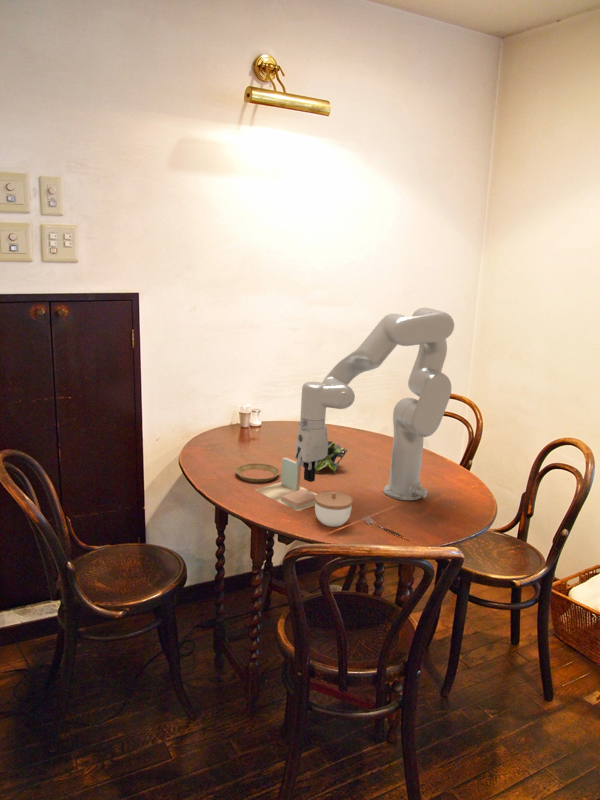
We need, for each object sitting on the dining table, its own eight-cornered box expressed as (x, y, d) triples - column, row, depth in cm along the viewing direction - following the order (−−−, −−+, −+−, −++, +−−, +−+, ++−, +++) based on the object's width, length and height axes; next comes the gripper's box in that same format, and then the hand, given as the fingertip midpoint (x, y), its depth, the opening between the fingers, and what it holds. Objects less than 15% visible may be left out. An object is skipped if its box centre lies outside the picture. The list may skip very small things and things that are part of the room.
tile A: (318, 496, 190) (297, 503, 184) (318, 501, 191) (296, 508, 185) (302, 489, 195) (281, 496, 189) (302, 494, 196) (281, 500, 189)
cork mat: (330, 501, 193) (330, 499, 192) (297, 513, 183) (297, 511, 183) (286, 481, 206) (286, 480, 206) (254, 491, 197) (254, 490, 197)
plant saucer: (226, 475, 210) (227, 468, 209) (262, 467, 219) (262, 460, 219) (252, 489, 199) (252, 482, 198) (288, 480, 208) (288, 473, 208)
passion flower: (323, 482, 224) (341, 449, 227) (341, 488, 213) (359, 454, 216) (297, 465, 219) (315, 432, 222) (314, 471, 208) (333, 436, 211)
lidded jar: (348, 516, 183) (350, 486, 181) (352, 532, 172) (355, 501, 170) (312, 514, 182) (314, 485, 180) (314, 531, 172) (316, 499, 170)
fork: (406, 543, 169) (406, 536, 168) (361, 522, 180) (362, 516, 179) (412, 540, 170) (412, 534, 170) (367, 520, 181) (368, 514, 181)
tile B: (299, 489, 199) (301, 463, 197) (295, 490, 198) (297, 464, 196) (284, 483, 204) (286, 457, 201) (281, 484, 203) (282, 458, 200)
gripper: (303, 430, 179) (300, 489, 183) (338, 422, 189) (334, 478, 194) (285, 424, 184) (283, 482, 189) (320, 416, 194) (317, 471, 199)
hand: (309, 480), depth 191 cm, fingers closed
